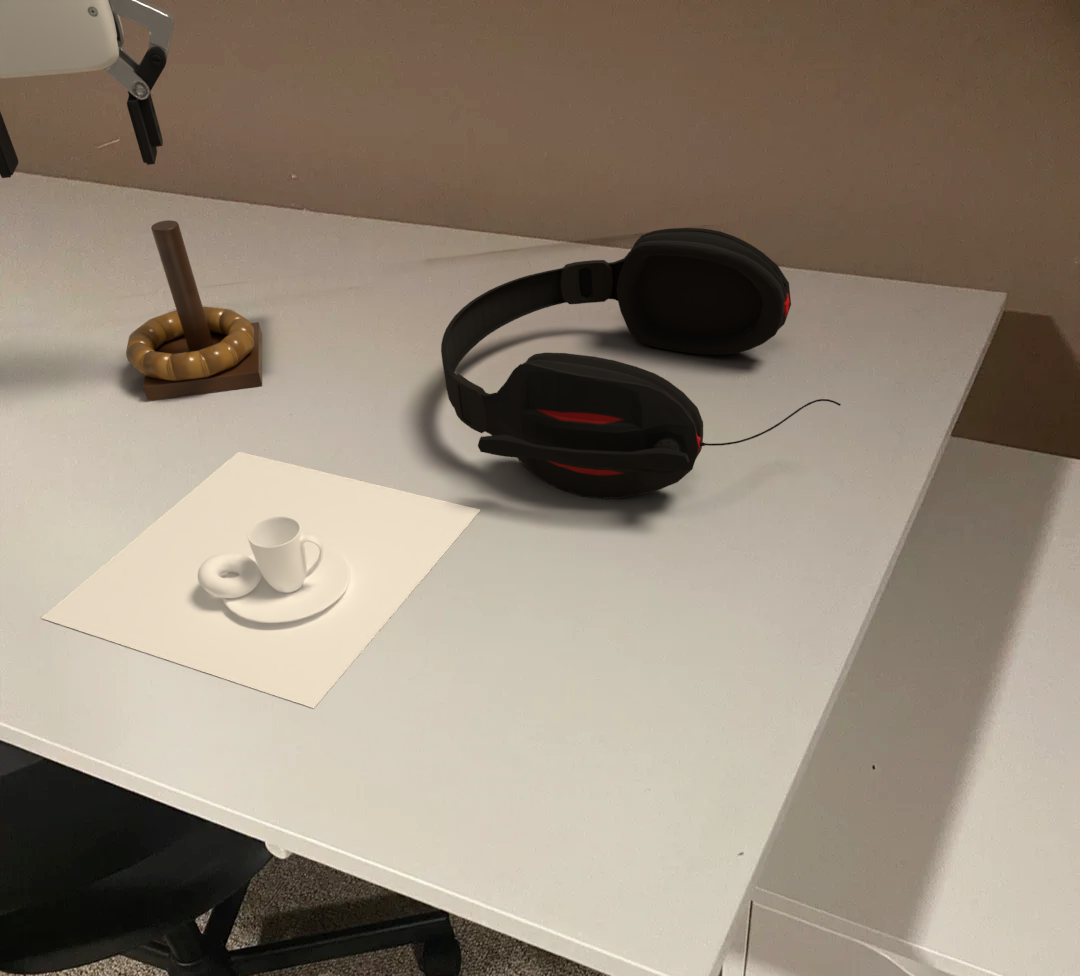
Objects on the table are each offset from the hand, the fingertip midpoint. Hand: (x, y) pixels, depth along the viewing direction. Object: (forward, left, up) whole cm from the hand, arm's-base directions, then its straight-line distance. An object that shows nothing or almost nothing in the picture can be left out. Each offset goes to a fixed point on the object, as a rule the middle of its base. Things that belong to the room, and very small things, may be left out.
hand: (81, 164), depth 71 cm
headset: (+37, -17, -16) cm, 43 cm away
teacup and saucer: (+9, -28, -16) cm, 34 cm away
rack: (+4, 0, -16) cm, 16 cm away
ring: (+4, 0, -14) cm, 14 cm away
